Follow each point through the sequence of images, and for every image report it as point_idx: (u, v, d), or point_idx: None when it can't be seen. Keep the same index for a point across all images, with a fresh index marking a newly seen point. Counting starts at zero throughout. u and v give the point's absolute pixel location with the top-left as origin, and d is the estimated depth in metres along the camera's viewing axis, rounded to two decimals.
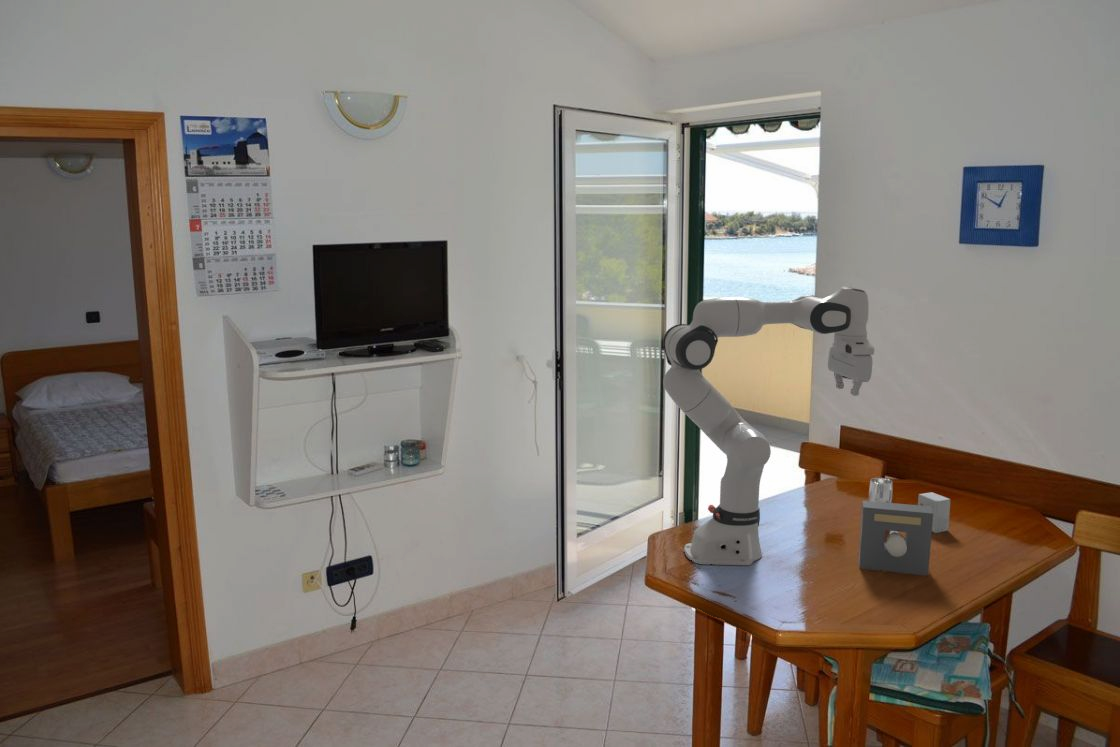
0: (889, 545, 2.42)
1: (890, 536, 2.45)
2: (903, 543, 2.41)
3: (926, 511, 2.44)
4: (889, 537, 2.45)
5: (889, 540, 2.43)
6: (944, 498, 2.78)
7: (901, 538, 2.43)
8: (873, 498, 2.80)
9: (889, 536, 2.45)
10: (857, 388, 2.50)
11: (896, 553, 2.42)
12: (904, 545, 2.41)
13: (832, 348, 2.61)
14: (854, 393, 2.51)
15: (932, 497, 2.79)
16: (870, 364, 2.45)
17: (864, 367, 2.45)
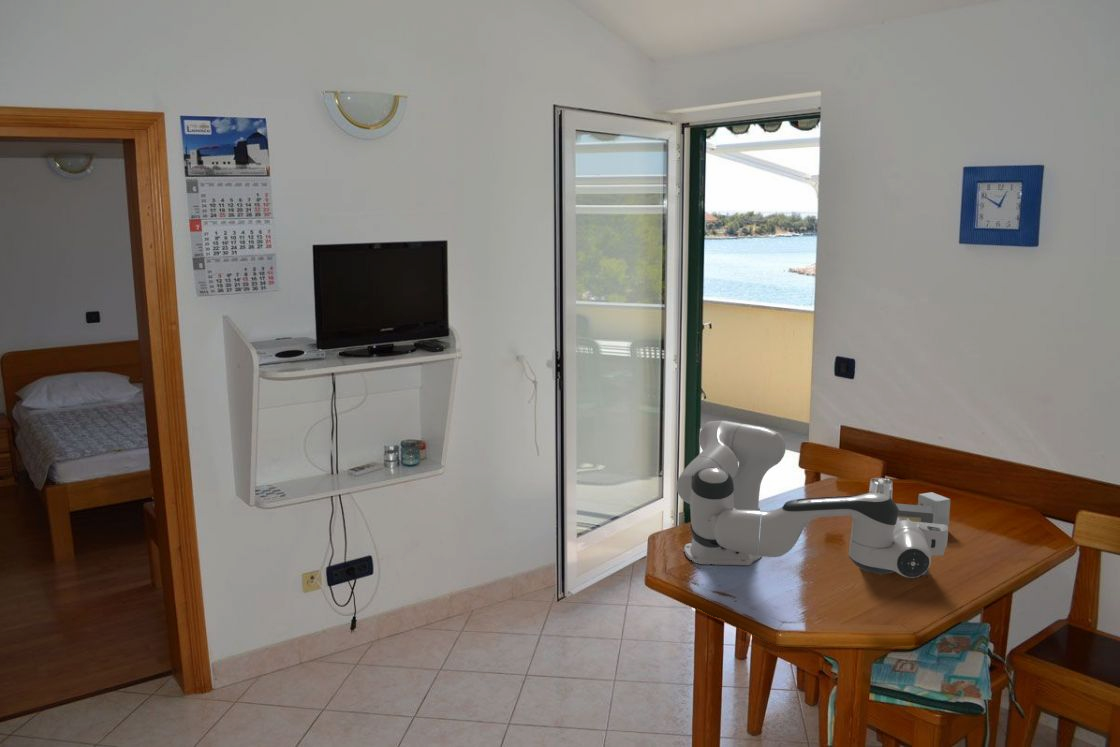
0: None
1: None
2: None
3: (926, 511, 2.44)
4: None
5: None
6: (944, 498, 2.78)
7: None
8: None
9: None
10: None
11: None
12: None
13: None
14: None
15: (932, 497, 2.79)
16: (947, 531, 2.19)
17: (947, 537, 2.20)
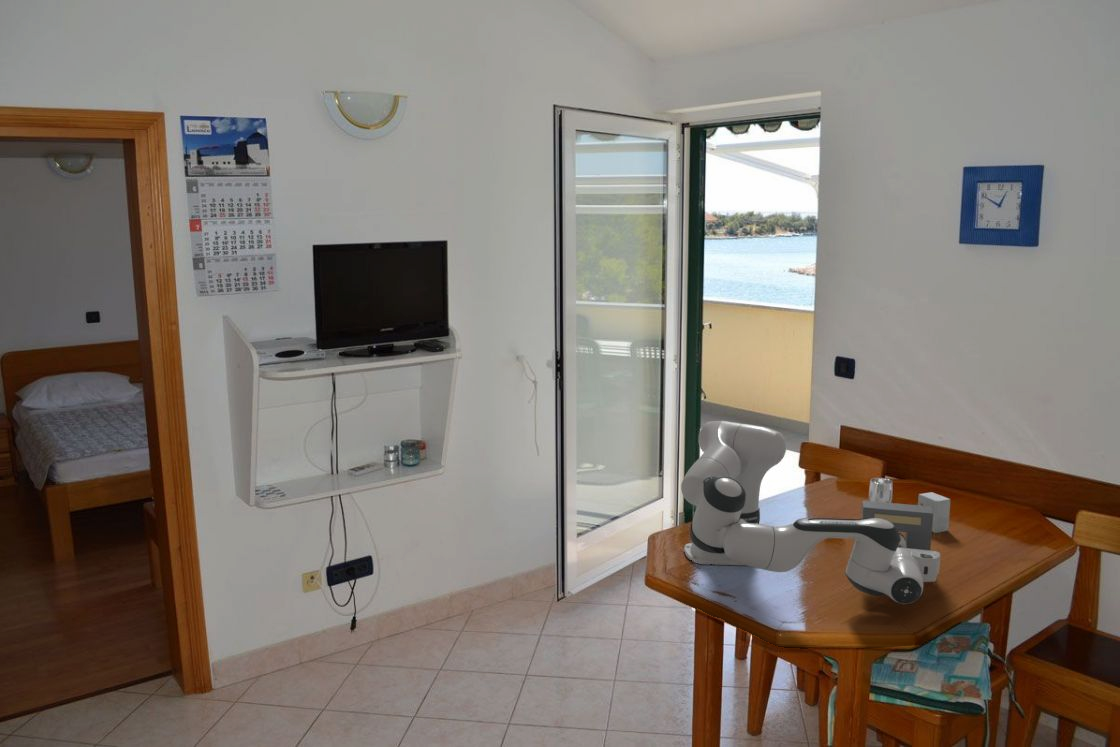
0: None
1: None
2: (903, 542, 2.42)
3: (926, 511, 2.44)
4: None
5: None
6: (944, 498, 2.78)
7: (901, 537, 2.43)
8: (873, 498, 2.80)
9: None
10: None
11: None
12: (904, 544, 2.42)
13: None
14: None
15: (932, 497, 2.79)
16: (939, 558, 2.31)
17: (939, 563, 2.32)
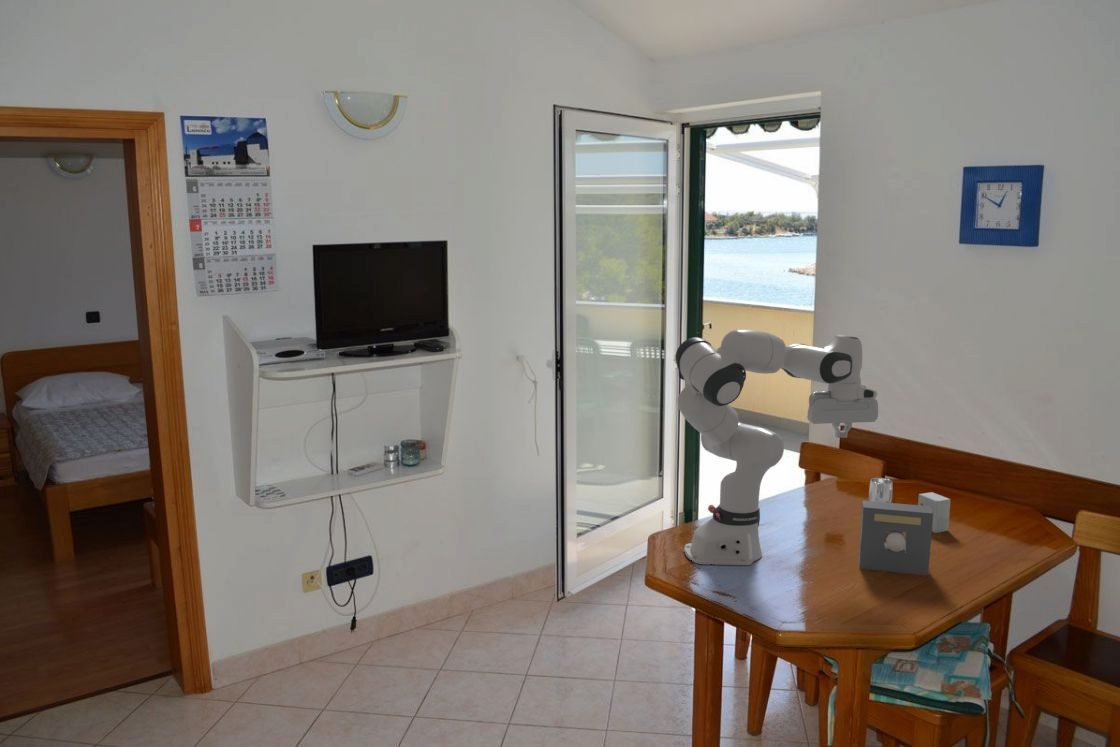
0: (888, 540, 2.46)
1: (889, 531, 2.48)
2: (902, 538, 2.45)
3: (926, 511, 2.44)
4: (888, 532, 2.48)
5: (888, 535, 2.47)
6: (944, 498, 2.78)
7: (900, 533, 2.46)
8: (873, 498, 2.80)
9: (888, 531, 2.49)
10: None
11: (895, 548, 2.46)
12: (903, 540, 2.45)
13: (822, 400, 2.54)
14: None
15: (932, 497, 2.79)
16: None
17: None
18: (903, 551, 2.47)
